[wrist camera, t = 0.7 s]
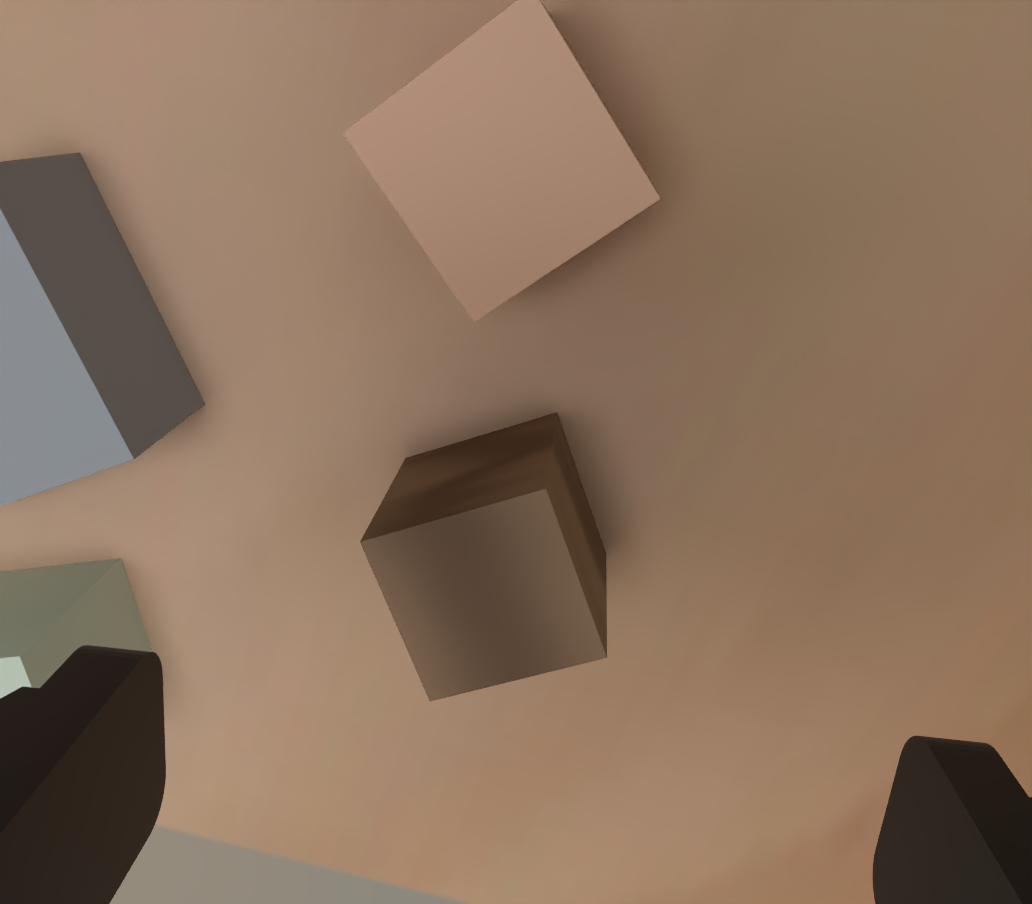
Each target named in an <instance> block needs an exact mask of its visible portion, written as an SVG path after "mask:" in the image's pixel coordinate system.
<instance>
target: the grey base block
mask: <svg viewBox="0 0 1032 904" xmlns="http://www.w3.org/2000/svg"><path fill="white" fill-rule="evenodd" d="M203 405H205V403H204V401H203V399H202V397H201V395H200V393H199V391H198V389H197V387H196V385H195V383H194V381H193V379H192V377H191V375H190V373H189V371H188V369H187V367H186V365H185V363H184V361H183V359H182V357H181V355H180V353H179V351H178V349H177V347H176V345H175V343H174V341H173V339H172V337H171V335H170V333H169V331H168V329H167V327H166V325H165V323H164V321H163V319H162V316H161V314H160V312H159V310H158V308H157V306H156V304H155V302H154V300H153V298H152V296H151V294H150V292H149V290H148V288H147V286H146V284H145V282H144V280H143V278H142V276H141V274H140V272H139V270H138V268H137V266H136V264H135V262H134V260H133V258H132V256H131V254H130V252H129V250H128V248H127V246H126V244H125V242H124V240H123V238H122V236H121V234H120V232H119V230H118V228H117V226H116V224H115V222H114V220H113V218H112V216H111V214H110V212H109V210H108V208H107V206H106V204H105V202H104V200H103V198H102V196H101V194H100V192H99V190H98V188H97V186H96V184H95V182H94V180H93V178H92V176H91V174H90V172H89V170H88V168H87V166H86V164H85V162H84V160H83V158H82V156H81V154H80V153H74V154H65V155H57V156H48V157H39V158H30V159H21V160H12V161H3V162H0V506H2V505H4V504H7V503H10V502H13V501H16V500H19V499H22V498H24V497H27V496H30V495H33V494H36V493H39V492H42V491H45V490H47V489H50V488H53V487H56V486H59V485H62V484H65V483H67V482H70V481H73V480H76V479H79V478H82V477H85V476H87V475H90V474H93V473H96V472H99V471H102V470H105V469H107V468H110V467H113V466H116V465H119V464H122V463H125V462H127V461H130V460H133V459H135V458H136V457H137V456H139V455H140V454H141V453H143V452H144V451H145V450H146V449H148V448H149V447H150V446H152V445H153V444H154V443H156V442H157V441H158V440H159V439H161V438H162V437H163V436H165V435H166V434H167V433H168V432H170V431H171V430H172V429H174V428H175V427H176V426H177V425H179V424H180V423H181V422H183V421H184V420H185V419H186V418H188V417H189V416H190V415H192V414H193V413H194V412H195V411H197V410H198V409H199V408H201V407H202V406H203Z"/></svg>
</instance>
